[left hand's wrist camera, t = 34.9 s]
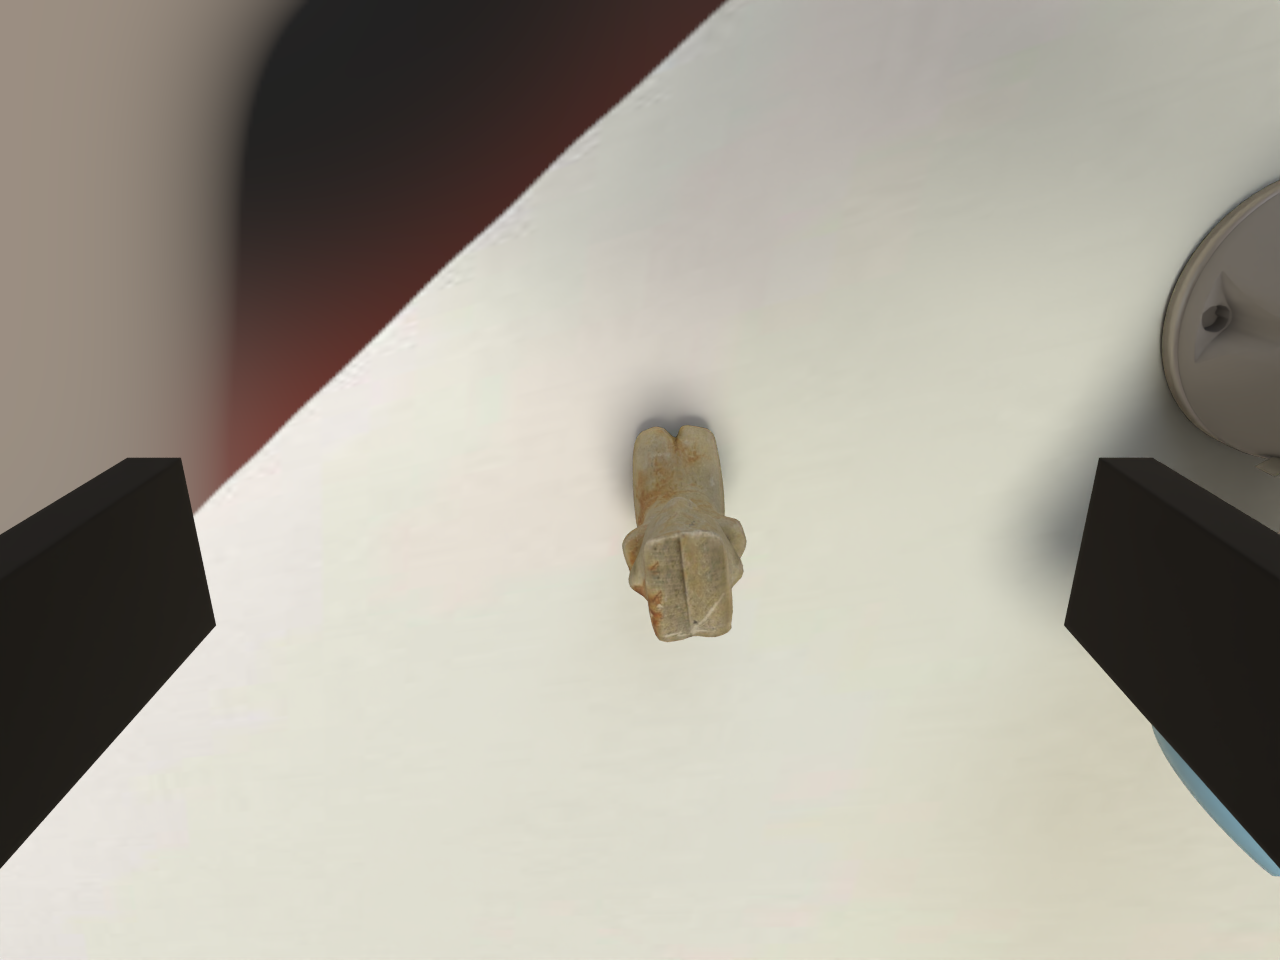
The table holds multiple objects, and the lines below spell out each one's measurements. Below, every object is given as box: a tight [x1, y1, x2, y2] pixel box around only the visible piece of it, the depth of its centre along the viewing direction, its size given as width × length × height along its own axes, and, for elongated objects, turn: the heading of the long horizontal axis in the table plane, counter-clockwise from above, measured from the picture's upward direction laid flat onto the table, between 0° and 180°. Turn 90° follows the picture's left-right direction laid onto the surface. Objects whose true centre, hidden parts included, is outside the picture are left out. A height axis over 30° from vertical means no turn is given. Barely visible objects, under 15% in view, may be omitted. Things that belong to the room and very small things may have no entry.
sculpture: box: [622, 425, 746, 642], centre depth 41 cm, size 6×7×15 cm
